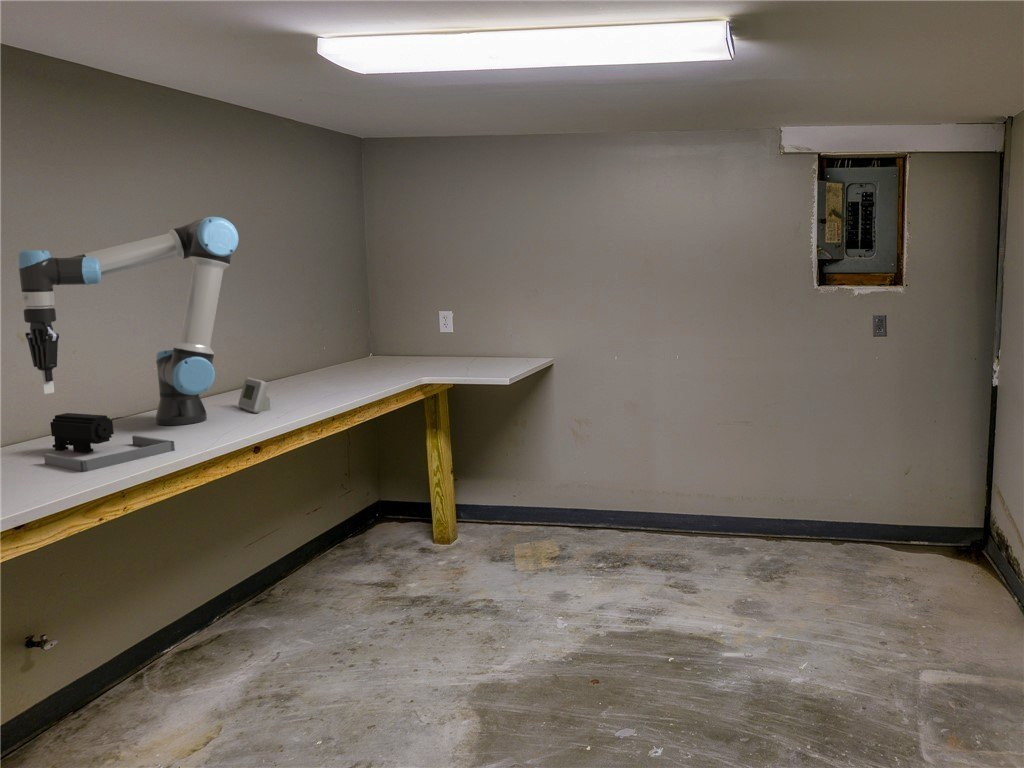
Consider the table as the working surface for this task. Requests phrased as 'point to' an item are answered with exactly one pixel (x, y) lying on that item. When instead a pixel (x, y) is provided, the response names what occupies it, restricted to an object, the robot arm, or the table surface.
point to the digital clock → (254, 396)
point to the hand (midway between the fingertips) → (48, 393)
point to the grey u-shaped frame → (114, 455)
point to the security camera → (80, 431)
